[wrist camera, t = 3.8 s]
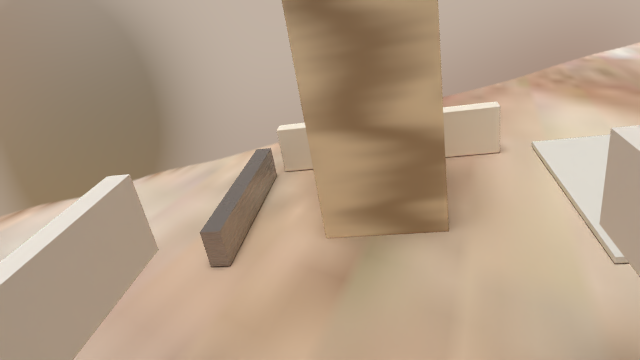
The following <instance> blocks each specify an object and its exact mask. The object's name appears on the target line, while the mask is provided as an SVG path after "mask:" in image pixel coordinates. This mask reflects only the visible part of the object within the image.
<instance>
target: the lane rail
mask: <svg viewBox="0 0 640 360" xmlns="http://www.w3.org/2000/svg"><path fill="white" fill-rule="evenodd" d="M443 119H444V140H445V157H453V156H464V155H475V154H486V153H497V152H500V105H499V104H498V103H497V102H488V103H479V104H470V105H461V106H452V107H443ZM277 134H278V138H279V144H280V148H281V153H282V157H283V162H284V167H285V171H295V170H307V169H313V165H312V159H311V154H310V149H309V143H308V138H307V133H306V127H305V123H299V124H290V125H280V126H279V128H278V129H277Z"/></svg>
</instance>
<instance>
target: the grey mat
mask: <svg viewBox="0 0 640 360" xmlns="http://www.w3.org/2000/svg"><path fill="white" fill-rule="evenodd" d="M609 141H610V135H599V136H589V137H578V138H567V139H556V140H545V141H534V142H532V147H533V149H534V150H535V151H536V153H537V154H538V156H539V157H540V159H541V160H542V161H543V163H544V164H545V166H546V167H547V168H548V170H549V171H550V173H551V174H552V175H553V177H554V178H555V180H556V181H557V183H558V184H559V185H560V187H561V188H562V190H563V191H564V192H565V194H566V195H567V197H568V198H569V199H570V201H571V202H572V204H573V205H574V207H575V208H576V209H577V211H578V212H579V214H580V215H581V216H582V218H583V219H584V221H585V222H586V223H587V225H588V226H589V228H590V229H591V231H592V232H593V233H594V235H595V236H596V238H597V239H598V240H599V242H600V243H601V245H602V246H603V247H604V249H605V250H606V252H607V253H608V255H609V256H610V257H611V259H612V260H613V262H614V263H629V262H628V261H627V260H626V258H625V257H624V256H623V254H622V253H621V252H620V250H619V249H618V248H617V246H616V245H615V244H614V242H613V241H612V240H611V239H610V237H609V236H608V235H607V233H606V232H605V231H604V229H603V228H602V227H601V225H600V224H599V223H600V215H601V206H602V198H603V190H604V182H605V174H606V165H607V157H608V149H609Z"/></svg>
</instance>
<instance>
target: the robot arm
mask: <svg viewBox="0 0 640 360" xmlns="http://www.w3.org/2000/svg"><path fill="white" fill-rule="evenodd" d="M599 224H600V225H601V227H602V228H603V229H604V231H605V232H606V233H607V235H608V236H609V237H610V239H611V240H612V241H613V242H614V244H615V245H616V246H617V248H618V249H619V250H620V252H621V253H622V254H623V256H624V257H625V258H626V260H627V261H628V262H629V263H630V265H631V266H632V267H633V269H634V270H635V271H636V273H637V274H638V275H639V277H640V125H637V126H626V127H616V128H611V133H610V141H609V149H608V157H607V165H606V174H605V182H604V190H603V198H602V206H601V215H600V223H599ZM158 250H159V249H158V247H157V244H156V242H155V239H154V236H153V234H152V231H151V229H150V226H149V223H148V221H147V218H146V216H145V213H144V210H143V208H142V205H141V203H140V200H139V197H138V195H137V192H136V190H135V187H134V184H133V182H132V179H131V177H130V175H129V174H128V175H118V176H107V177H106V178H105V179H103V180H102V181H101V182H100V183H98V184H97V185H96V186H95V187H94V188H92V189H91V190H90V191H88V192H87V193H86V194H84V195H83V196H82V197H81V198H79V199H78V200H77V201H76V202H74V203H73V204H72V205H71V206H69V207H68V208H67V209H66V210H64V211H63V212H62V213H61V214H59V215H58V216H57V217H56V218H54V219H53V220H52V221H51V222H49V223H48V224H47V225H45V226H44V227H43V228H42V229H40V230H39V231H38V232H37V233H35V234H34V235H33V236H32V237H30V238H29V239H28V240H27V241H25V242H24V243H23V244H22V245H20V246H19V247H18V248H17V249H15V250H14V251H13V252H12V253H10V254H9V255H8V256H6V257H5V258H4V259H3V260H1V261H0V360H73V359H74V358H75V356H76V355H77V354H78V353H79V351H80V350H81V349H82V347H83V346H84V345H85V344H86V342H87V341H88V340H89V338H90V337H91V336H92V335H93V333H94V332H95V331H96V329H97V328H98V327H99V326H100V324H101V323H102V322H103V320H104V319H105V318H106V317H107V315H108V314H109V313H110V311H111V310H112V309H113V308H114V306H115V305H116V304H117V302H118V301H119V300H120V299H121V297H122V296H123V295H124V293H125V292H126V291H127V290H128V288H129V287H130V286H131V284H132V283H133V282H134V281H135V279H136V278H137V277H138V275H139V274H140V273H141V272H142V270H143V269H144V268H145V266H146V265H147V264H148V263H149V261H150V260H151V259H152V257H153V256H154V255H155V254H156V252H157V251H158Z"/></svg>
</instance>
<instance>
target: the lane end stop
mask: <svg viewBox="0 0 640 360" xmlns="http://www.w3.org/2000/svg"><path fill="white" fill-rule="evenodd" d="M276 176H277V173H276V169H275V164H274V160H273V156H272V151H271V148H268V149H258V150H256V151H255V153H254V154H253V156H252V157H251V159H250V160H249V161H248V163H247V164H246V166H245V167H244V169H243V170H242V172H241V173H240V175H239V176H238V178H237V179H236V180H235V182H234V183H233V185H232V186H231V188H230V189H229V191H228V192H227V194H226V195H225V197H224V198H223V199H222V201H221V202H220V204H219V205H218V207H217V208H216V210H215V211H214V213H213V214H212V216H211V217H210V218H209V220H208V221H207V223H206V224H205V226H204V227H203V229H202V230H201V232H200V234H201V237H202V240H203V244H204V247H205V250H206V253H207V256H208V259H209V262H210V265H211V267H215V266H230V265H231V263H232V261H233V259H234V257H235V256H236V254H237V252H238V250H239V248H240V246H241V244H242V242H243V240H244V238H245V236H246V234H247V232H248V230H249V228H250V226H251V225H252V223H253V221H254V219H255V217H256V215H257V213H258V211H259V209H260V207H261V205H262V203H263V201H264V199H265V197H266V195H267V194H268V192H269V190H270V188H271V186H272V184H273V182H274V180H275V178H276Z"/></svg>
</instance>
